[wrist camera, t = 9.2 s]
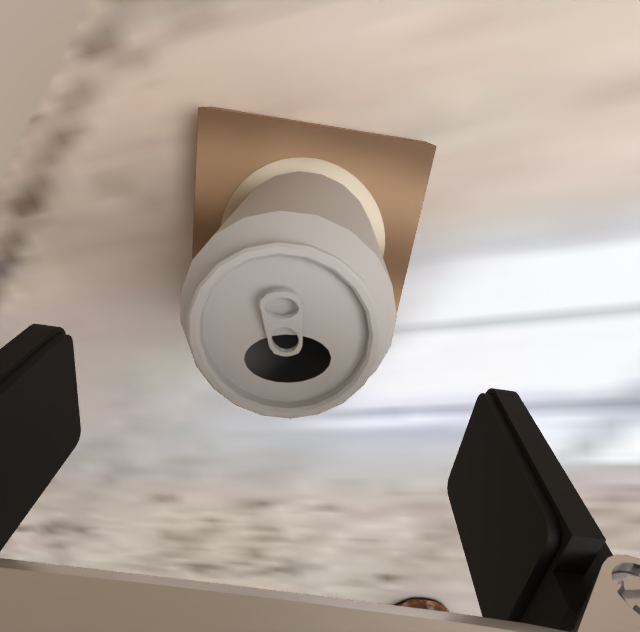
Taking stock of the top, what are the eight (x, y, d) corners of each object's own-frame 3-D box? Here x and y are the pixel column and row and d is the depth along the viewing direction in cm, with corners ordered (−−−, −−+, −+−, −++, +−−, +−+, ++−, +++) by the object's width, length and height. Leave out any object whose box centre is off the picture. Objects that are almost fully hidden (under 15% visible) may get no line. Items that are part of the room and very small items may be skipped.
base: (212, 106, 26) (197, 107, 23) (425, 141, 27) (437, 146, 24) (201, 305, 31) (188, 326, 28) (382, 331, 31) (387, 354, 29)
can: (241, 305, 27) (183, 440, 16) (226, 171, 24) (143, 227, 13) (371, 301, 27) (400, 436, 16) (372, 166, 24) (408, 218, 13)
